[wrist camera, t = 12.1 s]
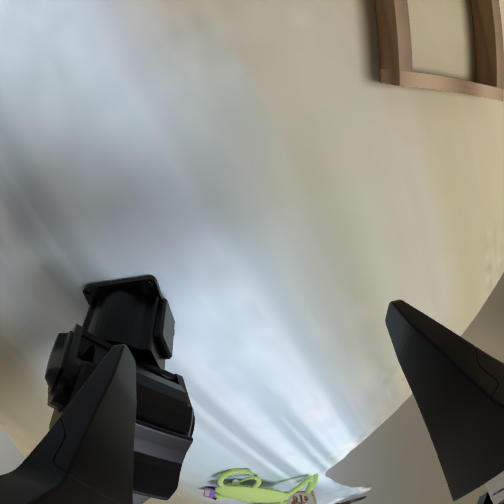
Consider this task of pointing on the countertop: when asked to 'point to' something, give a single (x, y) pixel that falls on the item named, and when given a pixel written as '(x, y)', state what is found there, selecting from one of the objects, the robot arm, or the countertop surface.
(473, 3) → the walnut holder
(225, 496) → the figurine
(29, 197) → the countertop surface
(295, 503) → the decorative jar
